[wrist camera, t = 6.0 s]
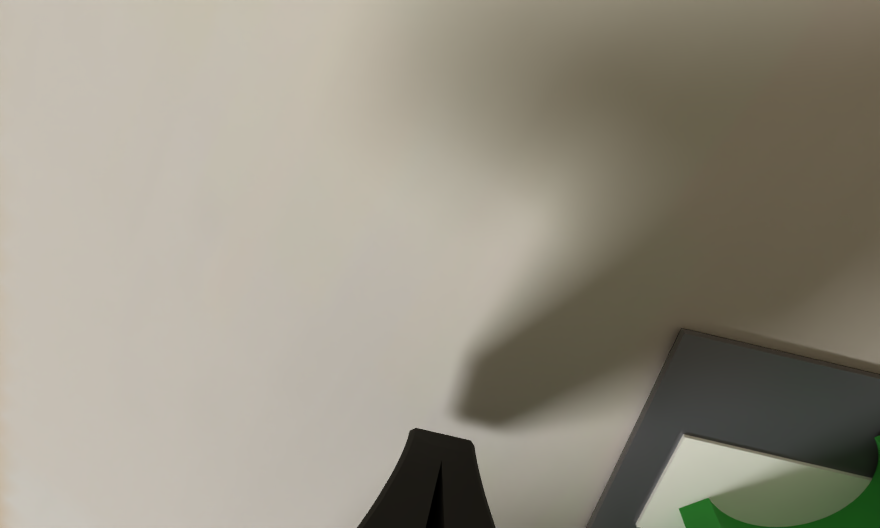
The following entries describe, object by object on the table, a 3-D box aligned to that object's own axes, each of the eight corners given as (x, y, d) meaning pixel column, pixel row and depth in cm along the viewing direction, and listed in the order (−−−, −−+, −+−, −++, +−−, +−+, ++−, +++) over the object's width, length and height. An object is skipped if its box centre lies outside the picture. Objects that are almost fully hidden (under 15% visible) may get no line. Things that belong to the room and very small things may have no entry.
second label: (565, 570, 15) (566, 581, 15) (682, 328, 12) (686, 335, 11) (884, 644, 15) (891, 656, 15) (1093, 424, 12) (1108, 434, 11)
